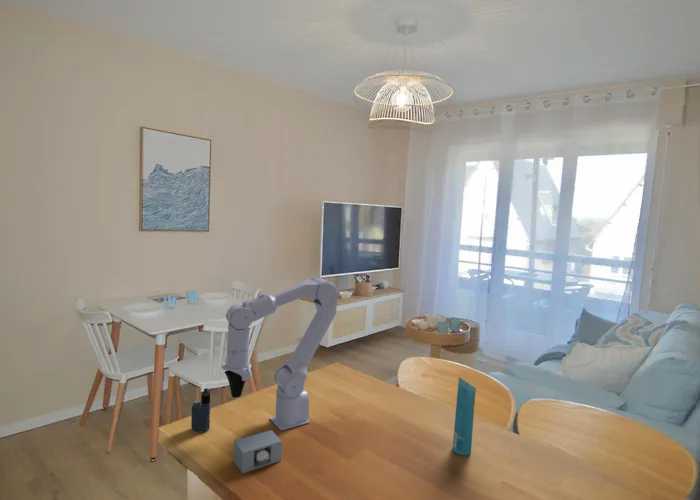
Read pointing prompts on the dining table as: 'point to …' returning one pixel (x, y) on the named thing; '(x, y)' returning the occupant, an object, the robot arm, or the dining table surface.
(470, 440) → the tube
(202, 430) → the vaping device
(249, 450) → the sleeve block
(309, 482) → the dining table surface
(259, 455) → the peg
